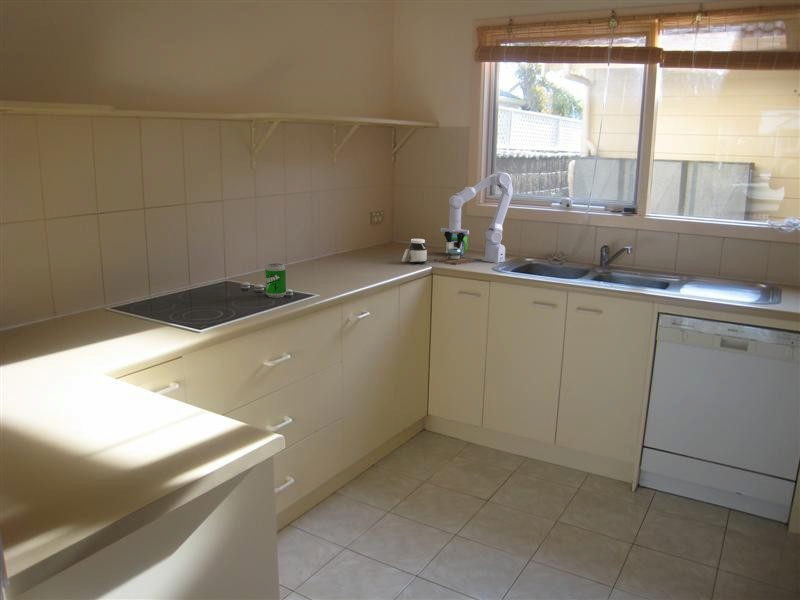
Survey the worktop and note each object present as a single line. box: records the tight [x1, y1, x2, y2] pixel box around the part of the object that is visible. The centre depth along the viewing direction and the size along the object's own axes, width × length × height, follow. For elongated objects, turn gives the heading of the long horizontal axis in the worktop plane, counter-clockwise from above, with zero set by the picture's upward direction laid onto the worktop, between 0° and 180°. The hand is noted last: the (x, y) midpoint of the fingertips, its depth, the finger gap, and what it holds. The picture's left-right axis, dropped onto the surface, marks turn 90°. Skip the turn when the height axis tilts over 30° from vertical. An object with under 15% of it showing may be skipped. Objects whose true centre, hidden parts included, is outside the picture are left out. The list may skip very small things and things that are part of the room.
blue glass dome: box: [445, 241, 462, 256], centre depth 343 cm, size 9×8×6 cm
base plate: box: [433, 254, 474, 265], centre depth 344 cm, size 14×14×4 cm
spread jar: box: [401, 238, 428, 265], centre depth 336 cm, size 12×11×12 cm
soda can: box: [264, 262, 287, 298], centre depth 262 cm, size 8×8×12 cm
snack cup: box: [445, 234, 469, 257], centre depth 362 cm, size 16×10×10 cm
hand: (454, 247), depth 343 cm, fingers closed on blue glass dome, 4 cm apart
